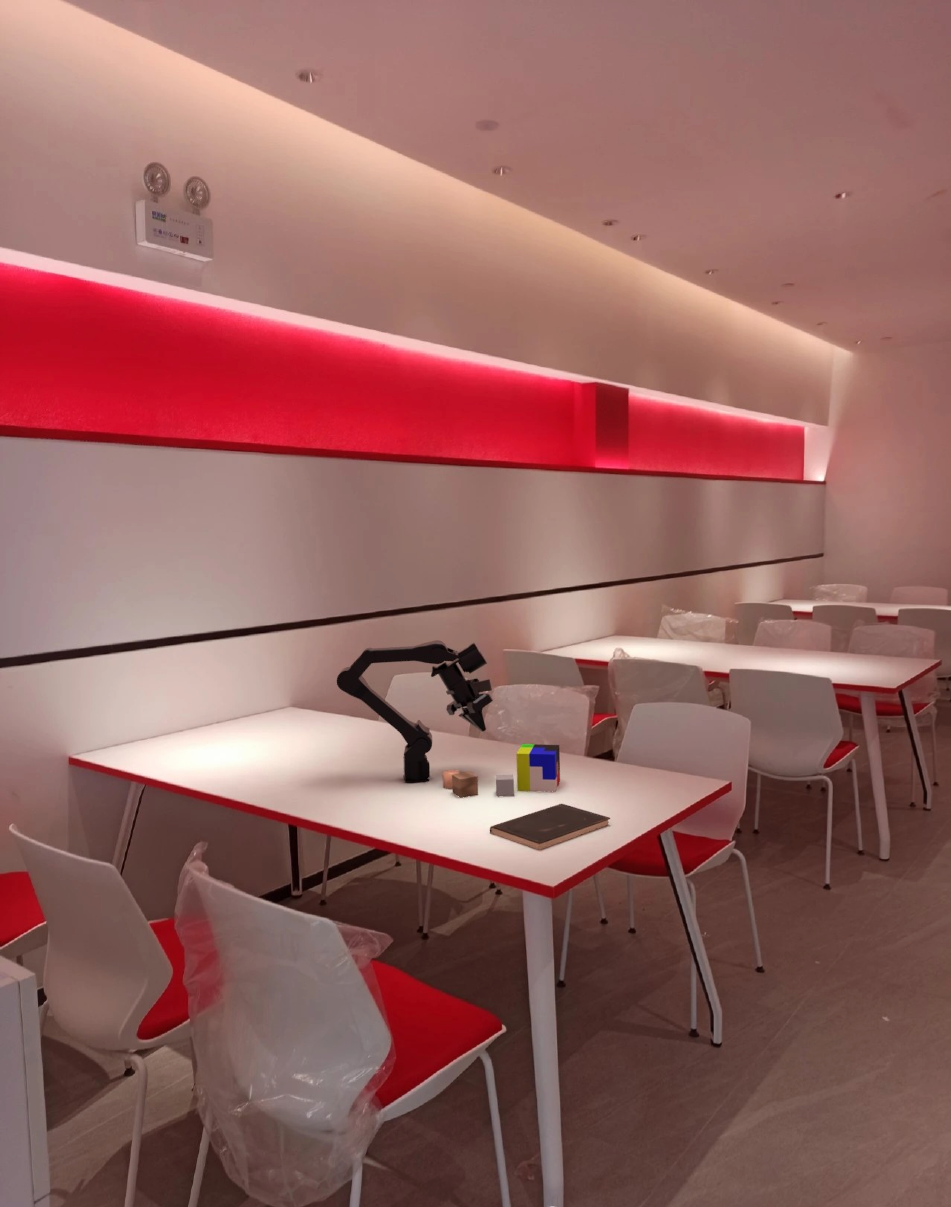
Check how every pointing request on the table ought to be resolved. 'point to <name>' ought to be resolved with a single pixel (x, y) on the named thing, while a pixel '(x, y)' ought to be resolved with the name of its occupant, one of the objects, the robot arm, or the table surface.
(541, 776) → the puzzle toy
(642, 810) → the table surface
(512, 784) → the slate block
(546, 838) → the hardcover book
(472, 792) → the walnut block
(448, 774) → the terracotta cylinder
